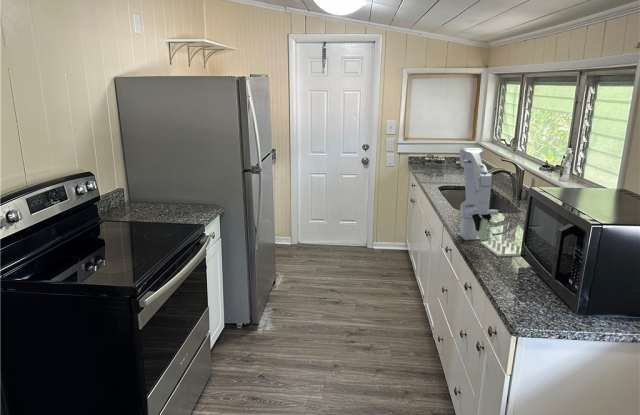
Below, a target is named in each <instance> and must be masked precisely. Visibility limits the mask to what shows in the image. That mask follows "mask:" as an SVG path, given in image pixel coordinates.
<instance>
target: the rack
mask: <svg viewBox="0 0 640 415" xmlns="http://www.w3.org/2000/svg"><path fill="white" fill-rule="evenodd" d="M510 241H511V240H510V238H506V236H505V235H502V236H501V240H497V239H495V238H493V237H492V236H491V235H488V240H487V241H480V245H482V246H483V247H485V248H486V249H487V250H488V251H490V252H491V253H492V254H493V255H495V256H496V257H521V256H520V251H521V250H522V249H521V246H520V245H518V244H517V245H515V242H514V241H511V242H510Z"/></svg>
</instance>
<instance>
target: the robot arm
mask: <svg viewBox="0 0 640 415" xmlns="http://www.w3.org/2000/svg"><path fill="white" fill-rule="evenodd" d="M483 156H484V151H483V148H482V147H461V148H460V149H459V164H460V167H462V168H463V172H464V174H463V175H464V186H465V200H464V201H463V202H461V204H460V206H459V216H460V219H461V220H460V224H459V232H457V235H458V236H459V237H460V238H462V239H463V240H465V241H469V240H470V241H471V240H474V241H475V240H481V239H480V238H479V237H477V236H476V235H475V234H473V231H474V223H475V228H476V230H477V231H479V228H480V221H481V217H480V216H479V215H481V216H482V217H484V218H485V219H487V220H488V223H489V222H490V221H491V219H492V215H496V216H499V210H498V209H490V200H491V190H492V188H493V186H494V182H495V181H494V180H495V179H494V174H493V173H490V172H489V171H488V168H487V166H486V165H485V164H484V163H483V162H482V159H483Z"/></svg>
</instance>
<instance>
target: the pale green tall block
mask: <svg viewBox="0 0 640 415" xmlns="http://www.w3.org/2000/svg"><path fill="white" fill-rule="evenodd" d="M479 216H480V217H481V221H480V228H479V231H477V230H476V228H475V223H474V231H473V234H475V235H476V236H477V237H479V238H480V239H479V240H481V241H482V240H483V241H485V240H487V235H488V234H487V233H488V232H487V231H488V223H489V222H488V220H487V219H485V218H484V217H482V216H481V215H479Z"/></svg>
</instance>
